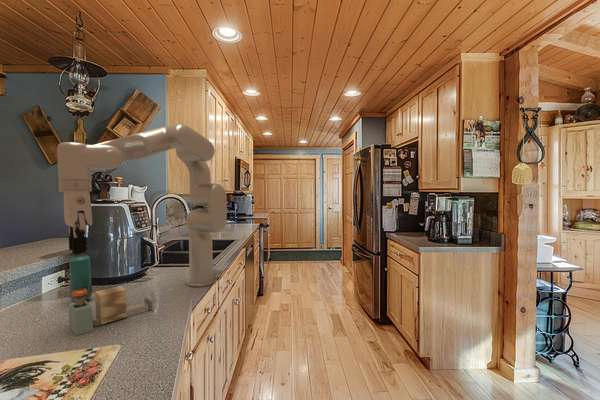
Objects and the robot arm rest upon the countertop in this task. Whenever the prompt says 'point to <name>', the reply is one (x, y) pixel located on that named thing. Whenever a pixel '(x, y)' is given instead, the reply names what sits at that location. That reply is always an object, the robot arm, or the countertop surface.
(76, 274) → the beverage bottle
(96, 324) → the rail
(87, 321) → the grey-green rectangular block
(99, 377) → the countertop surface
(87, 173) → the robot arm
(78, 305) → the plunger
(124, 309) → the light wood block
